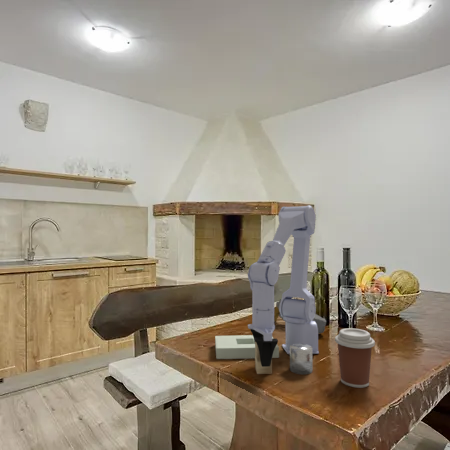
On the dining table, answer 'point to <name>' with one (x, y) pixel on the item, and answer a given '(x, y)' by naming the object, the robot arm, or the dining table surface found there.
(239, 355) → the socket plate
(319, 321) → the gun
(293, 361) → the round peg
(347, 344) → the coffee cup
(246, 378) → the dining table surface
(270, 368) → the square peg
